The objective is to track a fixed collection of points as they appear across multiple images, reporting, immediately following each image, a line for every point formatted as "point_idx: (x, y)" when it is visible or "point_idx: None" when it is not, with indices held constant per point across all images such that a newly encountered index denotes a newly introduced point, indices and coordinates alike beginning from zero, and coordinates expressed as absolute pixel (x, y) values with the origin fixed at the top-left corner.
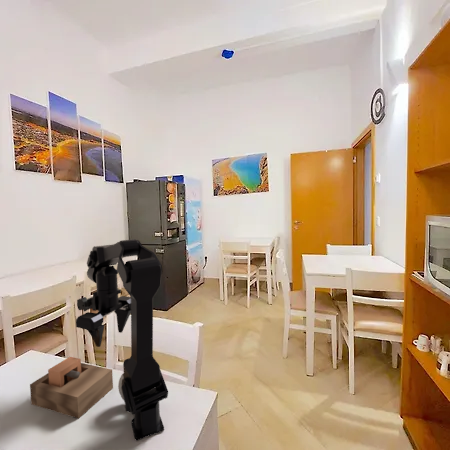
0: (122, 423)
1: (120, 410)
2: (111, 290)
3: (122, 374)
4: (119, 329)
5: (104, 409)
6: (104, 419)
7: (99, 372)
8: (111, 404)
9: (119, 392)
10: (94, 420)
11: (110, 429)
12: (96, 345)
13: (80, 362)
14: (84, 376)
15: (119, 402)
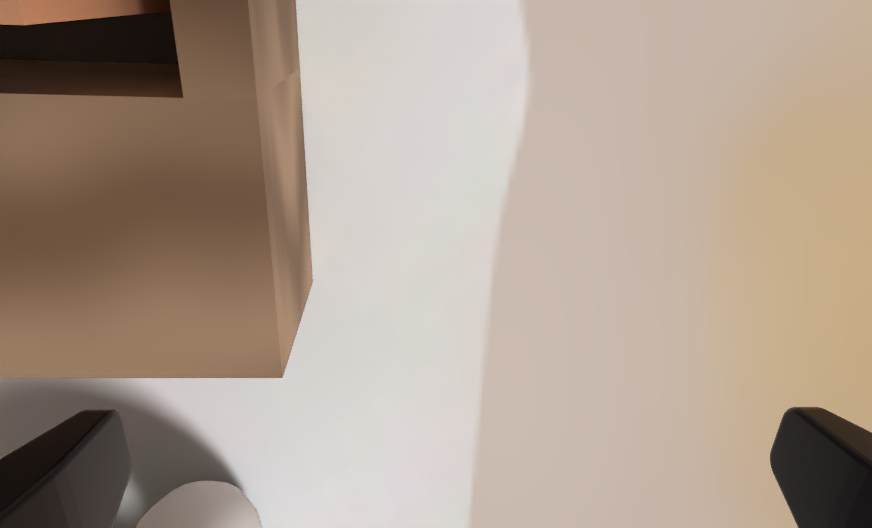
0: None
1: (155, 460)
2: None
3: None
4: (823, 477)
5: None
6: (47, 426)
7: (179, 295)
8: (168, 382)
9: (137, 524)
10: (4, 380)
11: None
12: (68, 433)
13: (49, 22)
14: (34, 190)
15: (208, 414)
